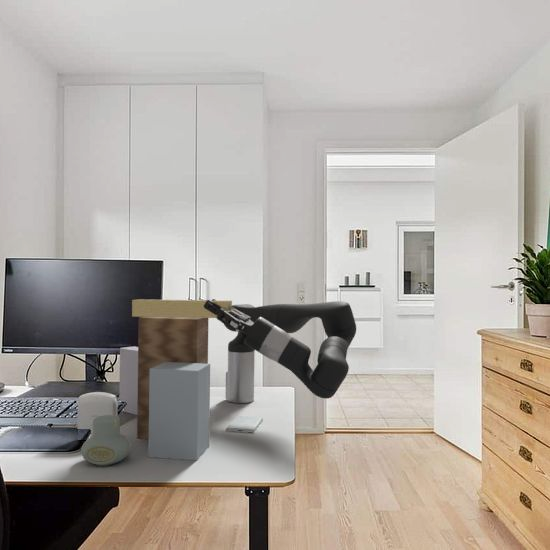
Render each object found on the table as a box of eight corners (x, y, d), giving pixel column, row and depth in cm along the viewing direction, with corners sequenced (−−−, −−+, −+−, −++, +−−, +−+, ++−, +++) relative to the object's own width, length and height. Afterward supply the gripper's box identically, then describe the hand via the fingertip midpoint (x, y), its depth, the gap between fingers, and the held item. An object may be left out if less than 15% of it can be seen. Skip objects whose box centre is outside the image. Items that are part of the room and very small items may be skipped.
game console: (177, 427, 149) (178, 357, 149) (118, 410, 165) (119, 348, 165) (191, 422, 153) (192, 355, 153) (133, 407, 170) (134, 346, 170)
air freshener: (134, 455, 125) (134, 413, 125) (125, 468, 117) (125, 423, 117) (88, 454, 125) (89, 413, 125) (76, 467, 117) (76, 423, 117)
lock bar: (132, 316, 127) (132, 300, 127) (138, 315, 131) (139, 299, 131) (227, 318, 124) (227, 301, 124) (231, 316, 128) (231, 300, 128)
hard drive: (236, 415, 158) (225, 427, 145) (263, 417, 156) (254, 428, 144) (236, 421, 158) (225, 433, 145) (262, 422, 156) (254, 434, 144)
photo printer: (74, 442, 134) (75, 394, 134) (80, 436, 139) (81, 390, 139) (114, 442, 134) (114, 394, 134) (119, 437, 138) (120, 390, 138)
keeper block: (148, 457, 124) (149, 368, 124) (163, 443, 134) (165, 361, 134) (197, 460, 122) (198, 370, 122) (209, 446, 132) (210, 363, 132)
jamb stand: (136, 439, 137) (138, 317, 137) (151, 428, 146) (153, 314, 146) (195, 443, 134) (197, 319, 134) (206, 432, 144) (208, 316, 144)
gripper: (254, 357, 118) (191, 318, 120) (265, 348, 132) (208, 313, 134) (271, 328, 117) (207, 290, 119) (280, 323, 131) (223, 288, 133)
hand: (208, 302), depth 127 cm, fingers closed on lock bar, 4 cm apart
